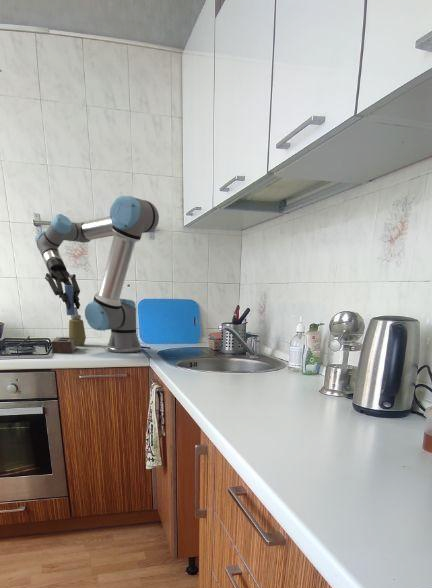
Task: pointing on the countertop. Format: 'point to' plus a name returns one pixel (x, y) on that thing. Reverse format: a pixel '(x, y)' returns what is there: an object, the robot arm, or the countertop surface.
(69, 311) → the peg
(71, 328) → the squeeze bottle
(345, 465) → the countertop surface
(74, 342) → the peg stand
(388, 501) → the countertop surface
